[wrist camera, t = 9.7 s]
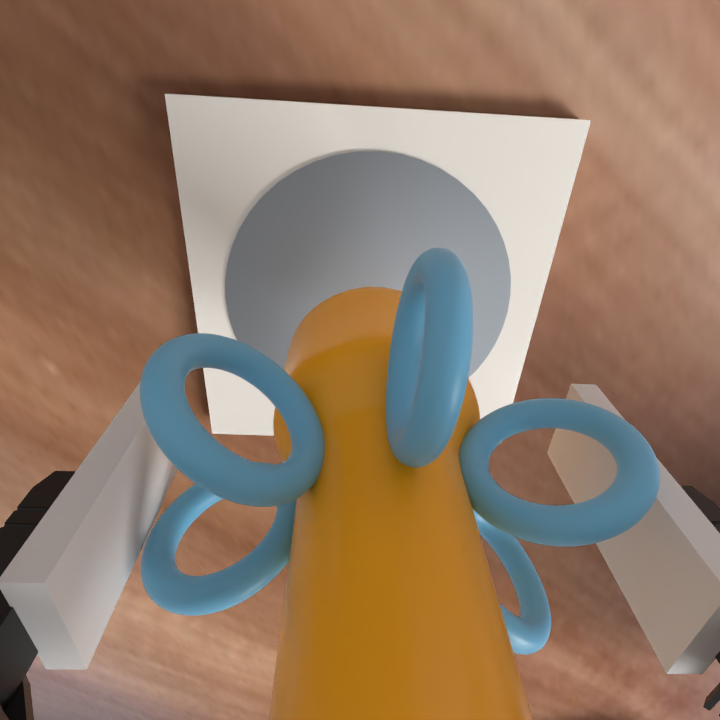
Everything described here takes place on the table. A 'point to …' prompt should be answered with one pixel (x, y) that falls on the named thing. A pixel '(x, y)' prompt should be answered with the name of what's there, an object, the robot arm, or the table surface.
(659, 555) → the robot arm
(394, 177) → the card
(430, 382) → the cylinder
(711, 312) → the table surface
